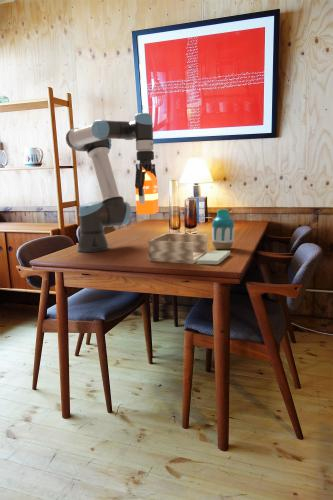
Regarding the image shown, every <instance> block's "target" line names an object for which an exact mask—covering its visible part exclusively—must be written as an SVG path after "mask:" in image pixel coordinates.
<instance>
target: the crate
mask: <svg viewBox="0 0 333 500" xmlns="http://www.w3.org/2000/svg"><path fill="white" fill-rule="evenodd" d="M147 244H148V245H147V246H148V261H149V262H162V263H163V262H165V263H175V264H188V265H194V263H197V260H198V259H199V258H201V257H202V256H204V255H205V254H207V253H208V234H199V233H198V234H195V233H177V232H176V233H173V232H166V233H164V234H161V235H158V236H155V237H154V238H152V239H149V240H147Z"/></svg>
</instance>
